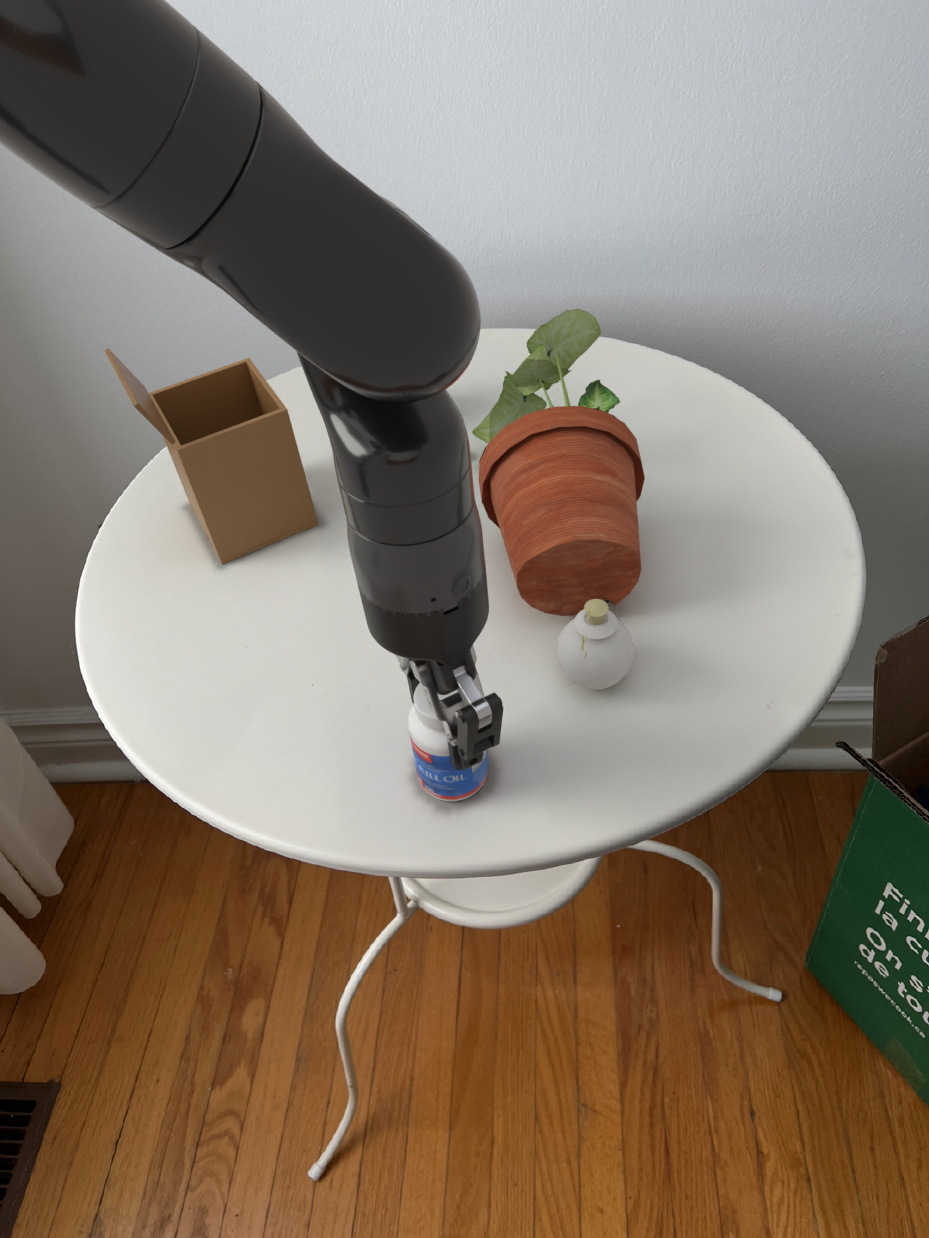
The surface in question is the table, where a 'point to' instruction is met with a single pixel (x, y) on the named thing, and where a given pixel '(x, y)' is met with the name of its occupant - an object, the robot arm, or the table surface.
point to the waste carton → (236, 458)
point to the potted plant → (562, 478)
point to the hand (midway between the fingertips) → (447, 730)
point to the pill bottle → (440, 755)
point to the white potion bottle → (595, 647)
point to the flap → (139, 396)
